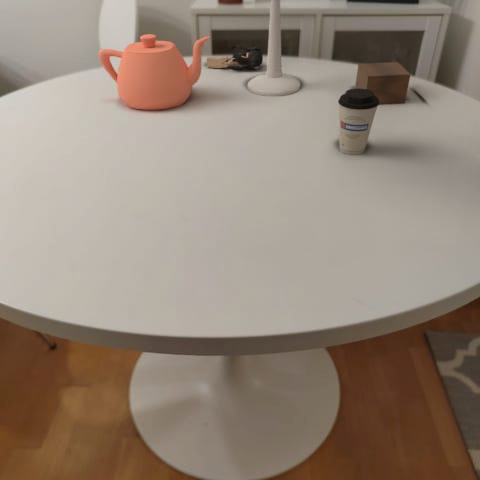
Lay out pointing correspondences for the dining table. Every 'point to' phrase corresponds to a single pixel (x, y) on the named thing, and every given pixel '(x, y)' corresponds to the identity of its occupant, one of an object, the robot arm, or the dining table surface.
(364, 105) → the coffee cup
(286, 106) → the dining table surface
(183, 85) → the teapot
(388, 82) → the walnut block
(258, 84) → the candlestick
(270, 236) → the dining table surface
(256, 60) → the toy figure
